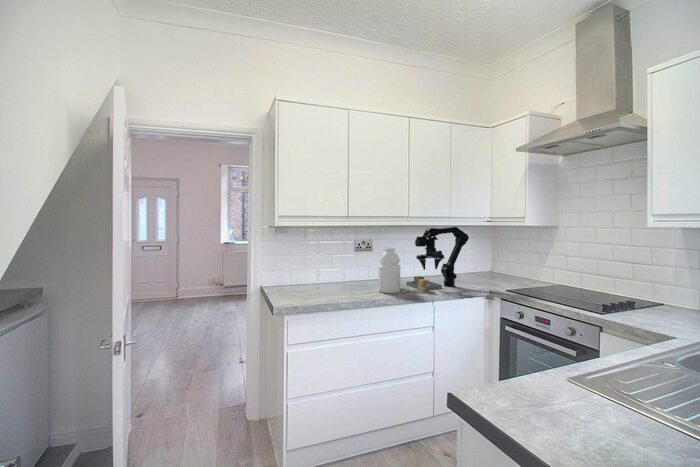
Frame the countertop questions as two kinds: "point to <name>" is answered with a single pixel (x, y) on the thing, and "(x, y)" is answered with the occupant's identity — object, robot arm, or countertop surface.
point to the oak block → (423, 285)
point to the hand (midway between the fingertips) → (430, 269)
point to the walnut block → (417, 279)
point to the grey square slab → (431, 285)
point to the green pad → (423, 292)
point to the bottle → (389, 272)
